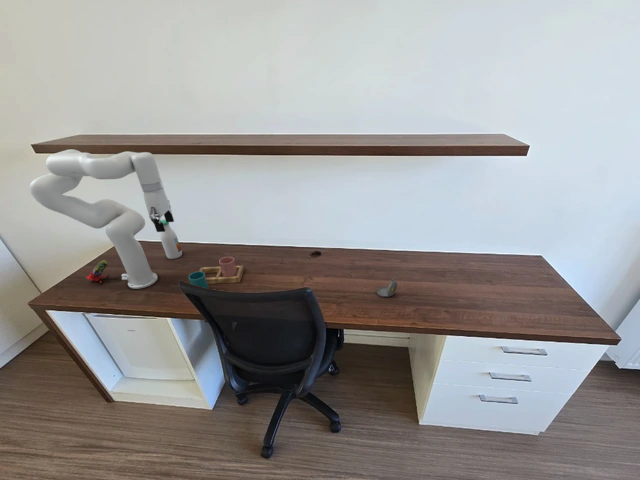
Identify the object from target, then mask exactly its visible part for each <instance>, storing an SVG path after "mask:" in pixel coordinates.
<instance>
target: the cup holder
mask: <svg viewBox="0 0 640 480" xmlns="http://www.w3.org/2000/svg"><path fill="white" fill-rule="evenodd" d="M236 270H237V276H234V277H223V275H222V271H221V267H220V266H202V267H200V268H199V270H198V271H202V272H204V273H205V274H216V273H217V274H216V276H215V277H213V276H212V277H206V279H207V283H208V285H210V284H211V285H213V284H214V285H215V284H233V283H235V284H237V283H240V282H241V280H242V277H243V273H244V272H245V267H244V265H236Z"/></svg>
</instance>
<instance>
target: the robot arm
mask: <svg viewBox="0 0 640 480" xmlns="http://www.w3.org/2000/svg"><path fill="white" fill-rule="evenodd" d="M45 167H46V169H47V171H49V172H48V173H46V174H43V175H41V176H38V177H36V178H35V179H33V180H32V181H31V182H30V184H29V187H28V188H29V189H28V190H29V192H30V194H31V195H32V198H33V199H34V200H35V201H36V202H37V203H39V204H40V205H41V206H43V207H44V208H46V209H47V210H51V211H53V212H56V213H59V214H61V215H64V216H66V217H68V218H71V219H73V220H75V221H78V222H80V223H82V224H83V225H86V226H88V227H90V228H93V229H97V230H98V229H103V228H104V227H105V234H106V236H107V239H109V241H110V242H111V243H112V245H113V246H114V248H115V250H116V252H117V254H118V257H119V258H120V261H121V263H122V266H123V267H124V269H125V271H126V273H122V274H121V280H122V281H127V286H128V288H130V289H134V290H139V289H144V288H148V287H150V286H152V285H154V284H155V283H156V282H157V281H158V279H159V277H158V274H157V273H155V272H153V271H152V269H151V266H150V264H149V262H148V259H147V256H146V254H145V252H144V249H143V246H142V245H141V244H142V243H140V242H139V241H138V240H137V239H136V238H135V236H136V235H137V234H138V233H139V232H140V231H142V230H143V229H144V227H146V220H145V218H144V216H143V215H142V214H141V213H139V212H138V211H136V210H134V209H132V208H130V207H128V206H126V205H124V204H122V203H119V202H118V201H116V200H113V199H108V198H104V199H100V200H98V201H95V202H93V203H90V202H87V201H85V200H83V199H81V198H78V197H76V196H71V195H65V194H66V193H69V192H70V191H72V190H75V189H76V188H77V187H78V186H79V184H80V183H81V181H82V179H83V177H91V178H93V179H96V180H118V179H122V178H124V177H126V176H128V175H130V174H133V173H136V176H137V179H138V182H139V184H140V187H141V190H142V193H143V200H144V204H145V207H146V210H147V214H148V217H149V219H150V221H151V222H152V224H153V225H154V228H155V231H156V232H157V233H160V232H165V229H164V226H163V223H162V222H161V220H162V217H164V220H166V222H169V223H174V222H175V219H174V217H173V213H172V209H171V205H170V204H171V202H170V200H169V199H168V196H167V194H166V192H165V190H164V189H165V187H164V185H163V181H162V178H161V175H160V172H159V169H158V165H157V162H156V159H155V157H154V155H153V153H151V152H147V151H143V152H135V151H123V152H119V153H117V154H114V155H111V156H109V157H102V158H101V157H99V158H98V157H97V158H96V157H95V156H94V155H93V154H92V153H90V152H81V151H80V150H77V149H74V148H73V149H71V148H70V149H66V150H62V151H59V152H55V153H52V154H51V155H49V156H48V157H47V158H46V160H45Z"/></svg>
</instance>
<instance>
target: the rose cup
mask: <svg viewBox="0 0 640 480" xmlns="http://www.w3.org/2000/svg"><path fill="white" fill-rule="evenodd" d="M218 263H219V267H221V271H222V275H223V276H222V277H234V276H237V273H238V272H237V270H236V266H237V265H236V261H235V257H233V256H224V257H222V258H220V259H219V260H218Z"/></svg>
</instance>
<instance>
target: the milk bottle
mask: <svg viewBox="0 0 640 480" xmlns="http://www.w3.org/2000/svg"><path fill="white" fill-rule="evenodd" d="M161 222H162V223H163V226H164V229H165V232H159V237H160V242H161V244H162V247H163V250H164V253H165V256H166V258H167V259H169V260H174V259H175V260H176V259H179V258H181V257H182V255H183V252H182V248H181V245H180V242H179V239H178V236H177V234H176V232H175V231H174V230H173V229H172V228H171V226H170V222H166V220H165V219H161Z"/></svg>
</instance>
